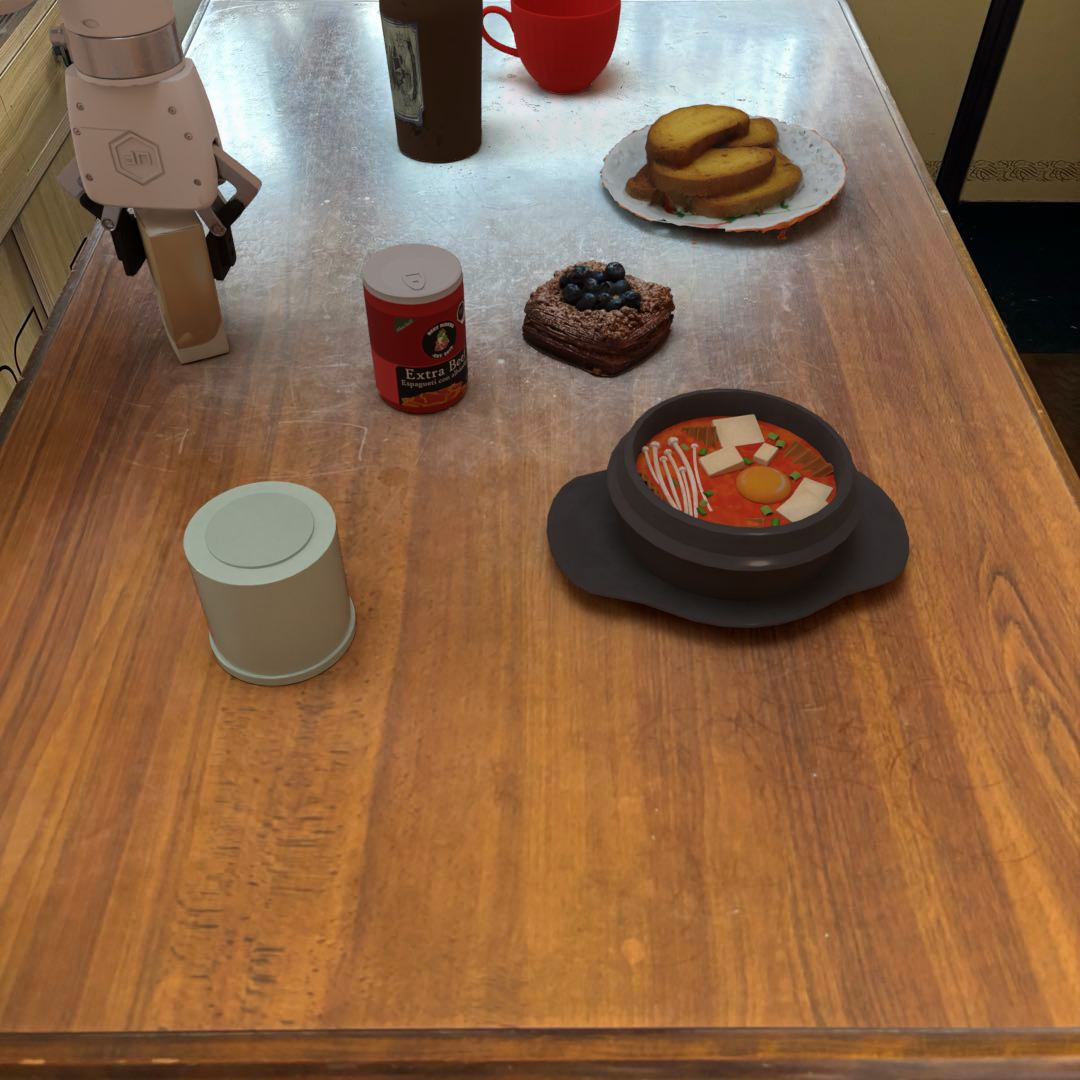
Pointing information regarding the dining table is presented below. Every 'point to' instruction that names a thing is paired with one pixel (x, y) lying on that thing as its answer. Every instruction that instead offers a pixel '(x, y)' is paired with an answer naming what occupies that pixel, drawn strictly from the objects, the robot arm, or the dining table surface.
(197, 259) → the cosmetic box
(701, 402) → the casserole
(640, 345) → the pastry
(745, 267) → the dining table surface
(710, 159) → the food on plate
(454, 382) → the canned food
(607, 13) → the ceramic cup
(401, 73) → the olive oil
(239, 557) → the upturned cup
